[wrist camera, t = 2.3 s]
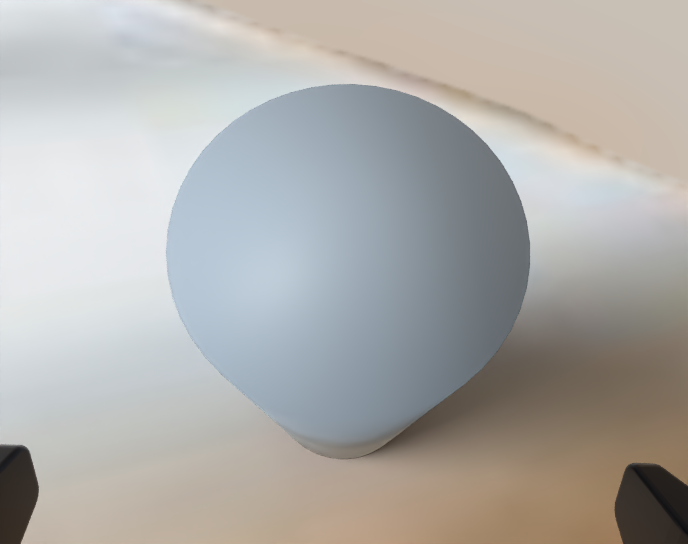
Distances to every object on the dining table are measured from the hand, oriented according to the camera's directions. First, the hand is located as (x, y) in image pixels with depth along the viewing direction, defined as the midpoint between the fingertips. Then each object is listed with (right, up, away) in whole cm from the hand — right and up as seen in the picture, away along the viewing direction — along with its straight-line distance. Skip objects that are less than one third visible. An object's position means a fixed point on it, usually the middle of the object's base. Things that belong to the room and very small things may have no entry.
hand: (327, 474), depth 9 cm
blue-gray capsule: (0, -1, +10) cm, 10 cm away
